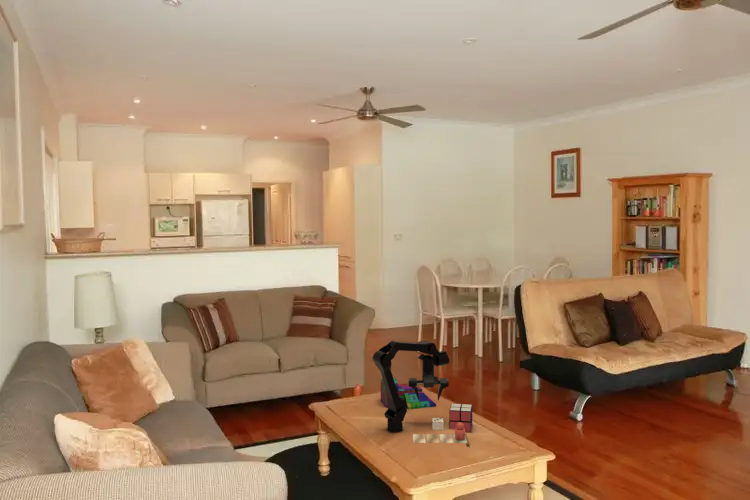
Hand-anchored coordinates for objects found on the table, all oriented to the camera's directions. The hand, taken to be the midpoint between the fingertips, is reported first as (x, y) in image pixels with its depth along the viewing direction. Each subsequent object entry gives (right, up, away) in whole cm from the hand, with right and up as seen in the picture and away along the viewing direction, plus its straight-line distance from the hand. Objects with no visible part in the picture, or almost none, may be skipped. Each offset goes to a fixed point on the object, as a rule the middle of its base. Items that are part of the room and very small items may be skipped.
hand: (428, 400), depth 297 cm
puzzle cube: (+15, -12, -3) cm, 20 cm away
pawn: (+12, -12, -20) cm, 26 cm away
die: (+4, -13, -6) cm, 14 cm away
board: (+3, -14, -19) cm, 24 cm away
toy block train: (-8, -10, +32) cm, 35 cm away
